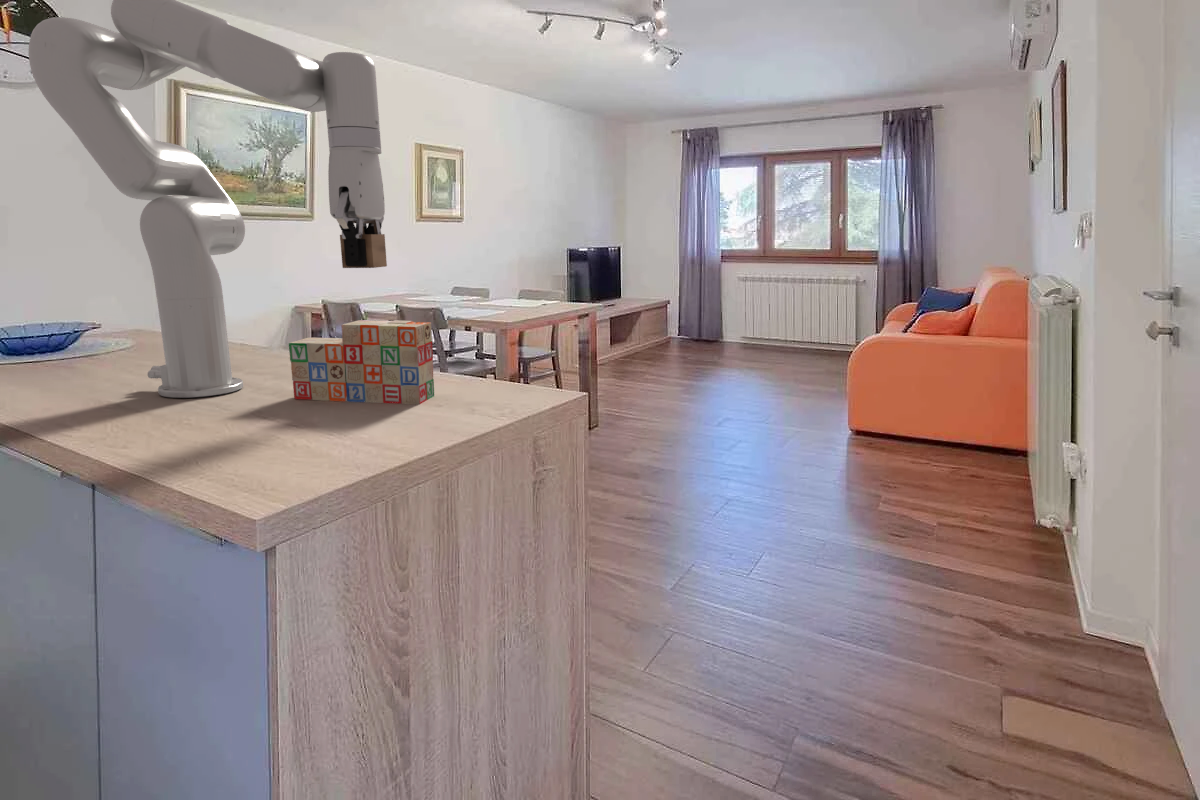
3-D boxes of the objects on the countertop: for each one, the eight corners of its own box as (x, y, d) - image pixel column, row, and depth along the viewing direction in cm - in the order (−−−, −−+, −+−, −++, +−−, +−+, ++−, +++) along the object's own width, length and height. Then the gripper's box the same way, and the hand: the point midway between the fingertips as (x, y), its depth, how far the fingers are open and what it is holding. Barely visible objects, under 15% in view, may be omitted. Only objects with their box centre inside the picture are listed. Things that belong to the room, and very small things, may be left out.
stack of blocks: (292, 400, 119) (285, 323, 116) (313, 392, 125) (307, 318, 122) (420, 405, 115) (416, 325, 113) (435, 396, 121) (431, 320, 119)
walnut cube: (342, 268, 115) (339, 234, 114) (357, 266, 120) (354, 234, 119) (373, 267, 114) (371, 234, 113) (386, 266, 119) (384, 234, 118)
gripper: (356, 149, 122) (365, 263, 126) (302, 136, 105) (314, 268, 109) (400, 148, 121) (408, 262, 125) (353, 135, 104) (363, 267, 108)
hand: (364, 264), depth 117 cm, fingers closed on walnut cube, 5 cm apart
